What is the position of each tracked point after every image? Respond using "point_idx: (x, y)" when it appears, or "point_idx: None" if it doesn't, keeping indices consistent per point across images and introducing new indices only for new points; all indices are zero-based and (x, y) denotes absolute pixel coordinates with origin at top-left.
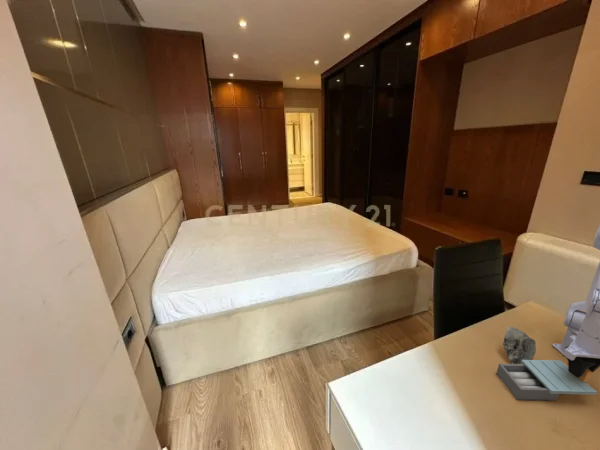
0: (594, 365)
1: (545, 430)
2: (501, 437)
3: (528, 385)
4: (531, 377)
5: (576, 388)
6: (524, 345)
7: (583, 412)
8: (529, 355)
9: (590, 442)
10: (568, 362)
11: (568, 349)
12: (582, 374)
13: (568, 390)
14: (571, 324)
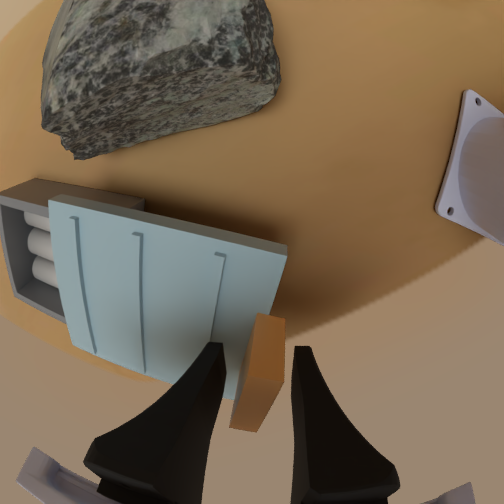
0: (294, 447)
1: (66, 336)
2: (5, 311)
3: None
4: None
5: (168, 375)
6: (62, 134)
7: None
8: (196, 119)
9: (138, 380)
10: (173, 385)
11: (40, 492)
12: (220, 400)
13: (129, 366)
14: None
